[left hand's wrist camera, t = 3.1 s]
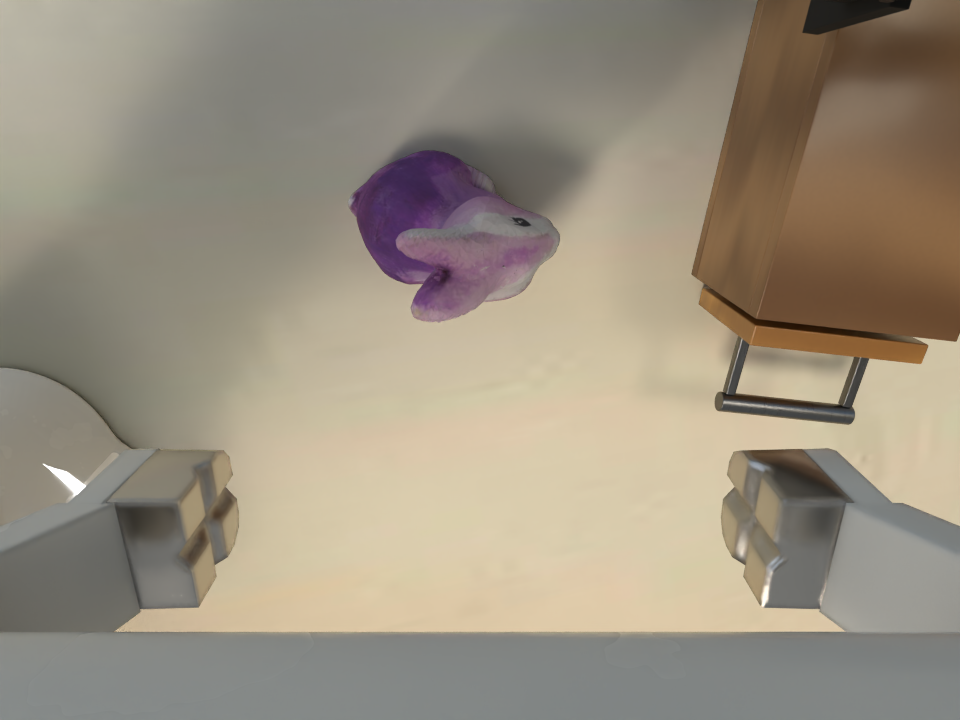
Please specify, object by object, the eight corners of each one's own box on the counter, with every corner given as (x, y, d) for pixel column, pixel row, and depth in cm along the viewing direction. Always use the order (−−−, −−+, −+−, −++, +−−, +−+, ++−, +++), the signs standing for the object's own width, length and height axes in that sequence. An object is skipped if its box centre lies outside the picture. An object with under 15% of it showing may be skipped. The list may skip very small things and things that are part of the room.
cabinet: (848, 293, 44) (956, 342, 35) (690, 274, 44) (755, 319, 34) (956, -32, 37) (1132, -88, 28) (771, -60, 37) (883, -127, 27)
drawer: (815, 392, 46) (888, 449, 38) (679, 378, 45) (724, 432, 37) (939, 23, 38) (1066, -4, 30) (774, -1, 37) (858, -35, 29)
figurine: (551, 229, 42) (592, 281, 28) (427, 311, 44) (408, 399, 30) (473, 103, 39) (475, 91, 25) (344, 196, 41) (279, 234, 27)
